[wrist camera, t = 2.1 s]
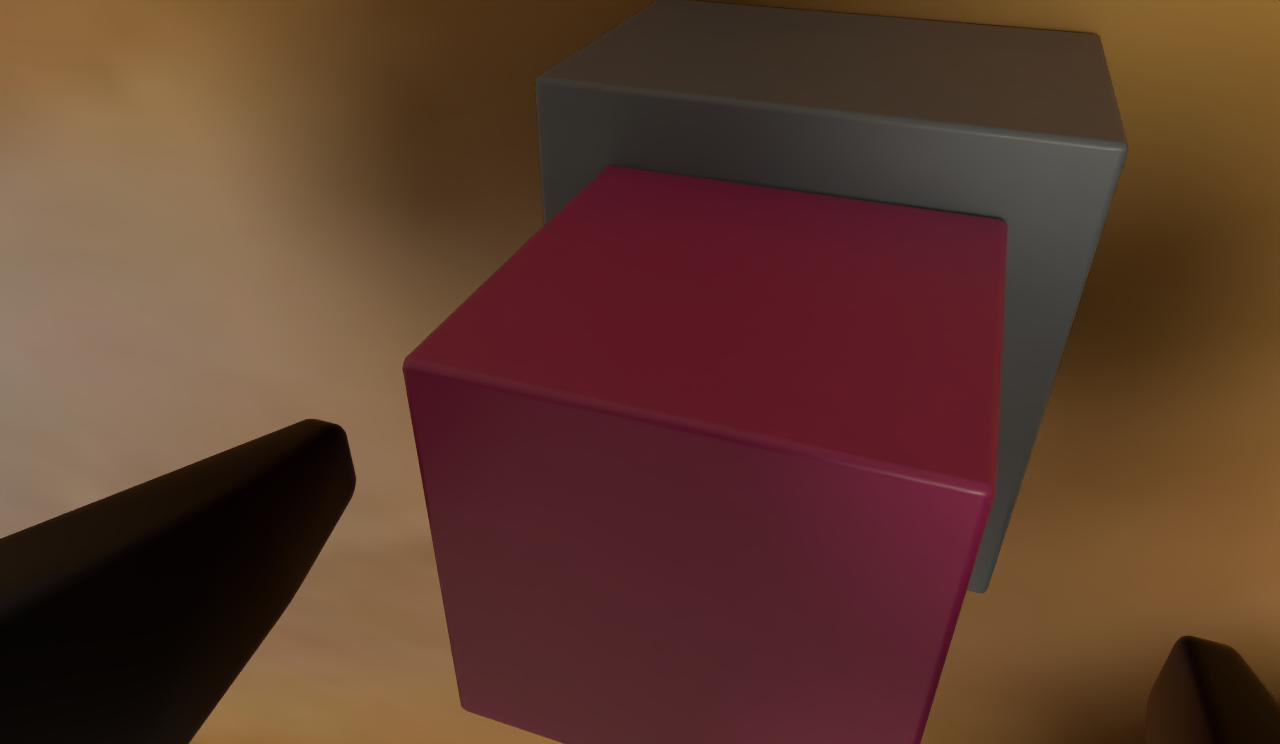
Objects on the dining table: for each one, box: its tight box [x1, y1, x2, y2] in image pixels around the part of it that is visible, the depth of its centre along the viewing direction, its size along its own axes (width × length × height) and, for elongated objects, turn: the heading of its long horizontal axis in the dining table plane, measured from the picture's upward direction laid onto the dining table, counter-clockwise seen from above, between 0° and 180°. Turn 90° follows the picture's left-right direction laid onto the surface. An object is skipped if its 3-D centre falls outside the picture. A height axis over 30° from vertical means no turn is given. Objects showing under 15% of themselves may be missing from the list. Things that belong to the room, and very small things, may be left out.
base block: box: [535, 0, 1128, 593], centre depth 14 cm, size 7×7×5 cm
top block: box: [403, 165, 1008, 744], centre depth 11 cm, size 5×5×5 cm
